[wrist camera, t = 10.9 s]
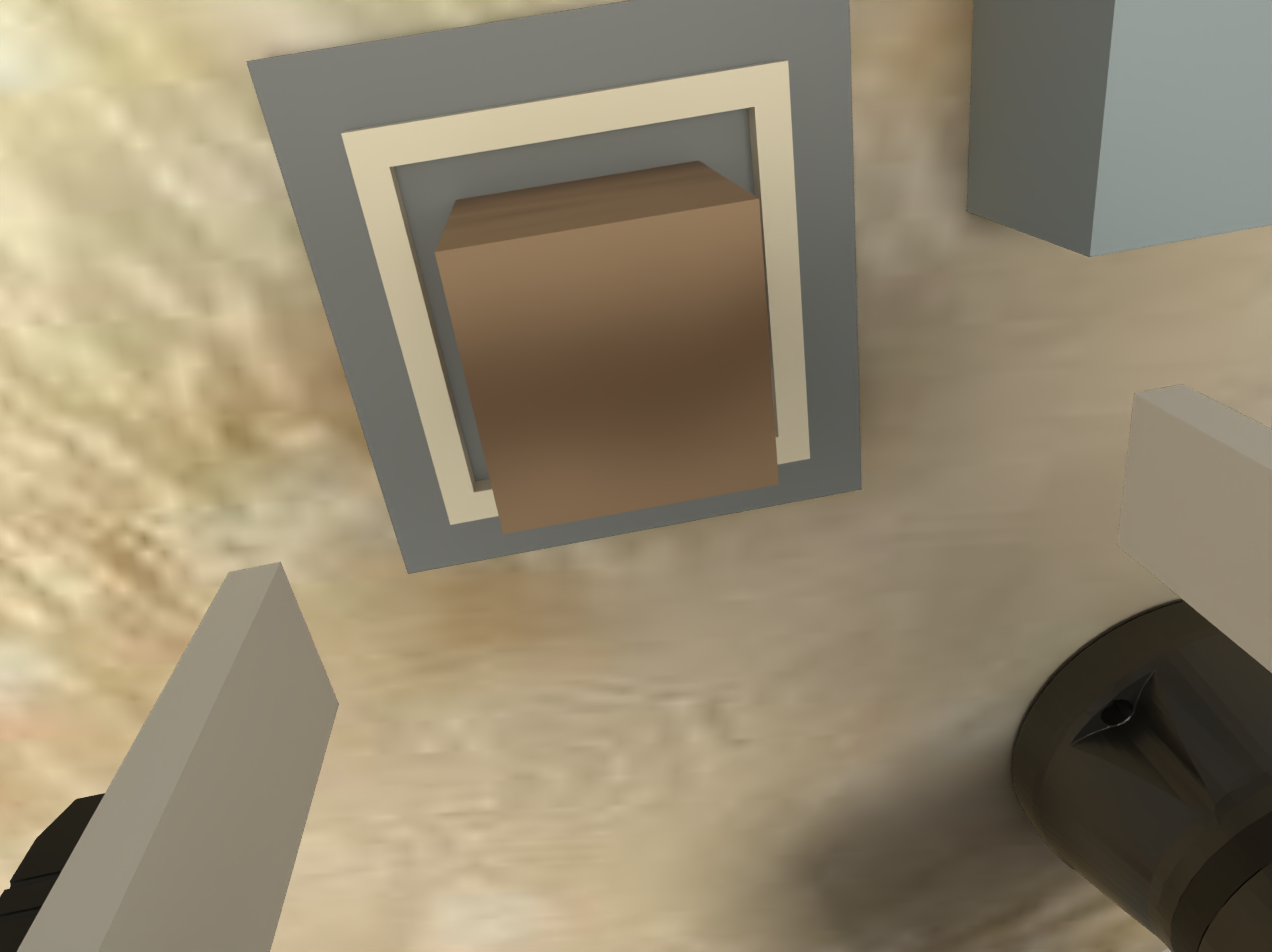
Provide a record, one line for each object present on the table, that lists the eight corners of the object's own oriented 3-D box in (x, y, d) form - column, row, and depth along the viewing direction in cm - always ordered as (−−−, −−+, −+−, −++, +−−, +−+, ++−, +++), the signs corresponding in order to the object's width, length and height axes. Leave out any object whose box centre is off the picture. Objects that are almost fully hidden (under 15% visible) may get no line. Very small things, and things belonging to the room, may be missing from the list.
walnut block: (720, 386, 28) (778, 484, 22) (506, 424, 28) (503, 534, 21) (698, 160, 25) (759, 198, 19) (455, 200, 24) (434, 252, 18)
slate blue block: (1168, 175, 29) (1346, 211, 23) (965, 210, 29) (1089, 256, 22) (1201, -69, 26) (1419, -106, 19) (973, -32, 25) (1120, -58, 19)
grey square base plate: (842, 464, 32) (869, 500, 30) (414, 544, 31) (405, 586, 29) (824, -29, 25) (859, -37, 22) (266, 60, 24) (237, 61, 22)
